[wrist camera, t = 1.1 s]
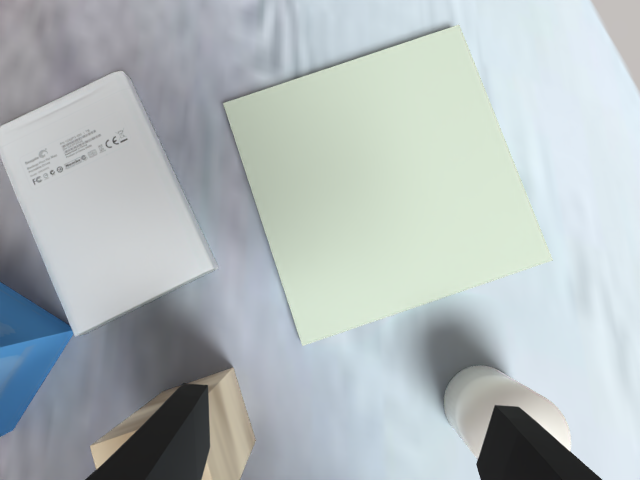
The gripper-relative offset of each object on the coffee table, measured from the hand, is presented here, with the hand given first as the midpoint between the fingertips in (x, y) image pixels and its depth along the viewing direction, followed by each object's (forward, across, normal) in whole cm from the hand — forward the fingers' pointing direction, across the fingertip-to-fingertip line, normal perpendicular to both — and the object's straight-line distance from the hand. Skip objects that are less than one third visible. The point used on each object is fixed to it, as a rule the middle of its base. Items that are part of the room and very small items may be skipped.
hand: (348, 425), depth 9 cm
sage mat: (+13, -2, -4) cm, 14 cm away
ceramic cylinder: (+8, -8, +6) cm, 13 cm away
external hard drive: (+13, +13, -1) cm, 19 cm away
